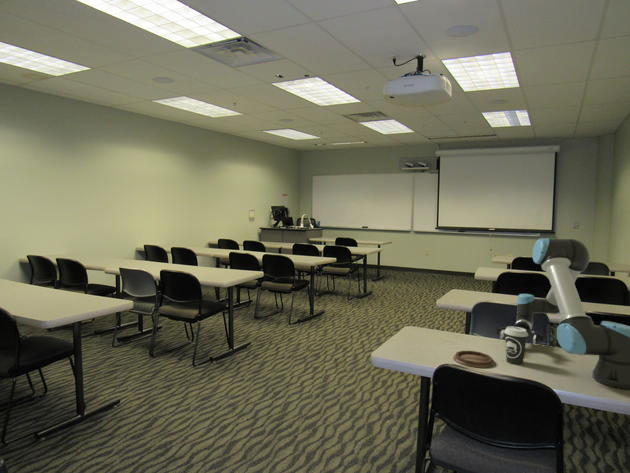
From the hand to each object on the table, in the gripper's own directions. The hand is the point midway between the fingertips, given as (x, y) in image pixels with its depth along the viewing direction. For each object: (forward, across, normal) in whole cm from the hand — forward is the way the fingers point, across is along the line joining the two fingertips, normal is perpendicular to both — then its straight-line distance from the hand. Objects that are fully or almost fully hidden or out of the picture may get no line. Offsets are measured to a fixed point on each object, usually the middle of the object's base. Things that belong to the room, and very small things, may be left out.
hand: (517, 338), depth 185 cm
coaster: (+18, +15, -8) cm, 25 cm away
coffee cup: (+8, 0, -9) cm, 12 cm away
